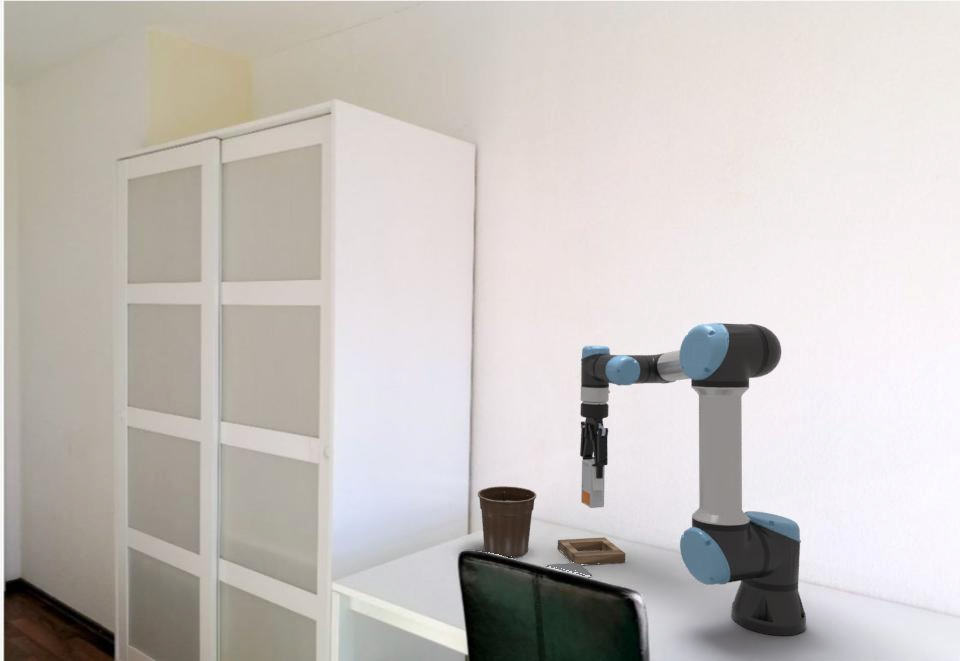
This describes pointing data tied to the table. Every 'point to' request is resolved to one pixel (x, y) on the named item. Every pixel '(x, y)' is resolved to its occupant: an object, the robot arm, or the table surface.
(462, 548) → the table surface
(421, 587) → the table surface
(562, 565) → the mat
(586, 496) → the skincare box
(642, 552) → the table surface
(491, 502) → the plant pot
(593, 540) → the frame
